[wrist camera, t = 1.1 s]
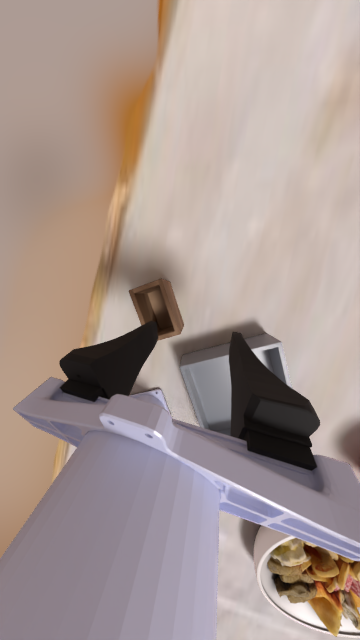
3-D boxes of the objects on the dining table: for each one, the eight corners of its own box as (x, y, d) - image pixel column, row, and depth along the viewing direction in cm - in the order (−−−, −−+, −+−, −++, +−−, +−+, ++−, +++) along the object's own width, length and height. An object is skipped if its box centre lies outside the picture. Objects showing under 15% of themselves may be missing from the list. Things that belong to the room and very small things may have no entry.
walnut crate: (159, 332, 27) (148, 343, 21) (144, 291, 26) (128, 290, 20) (184, 324, 26) (180, 334, 20) (170, 282, 25) (161, 278, 19)
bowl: (240, 568, 36) (251, 643, 28) (258, 478, 30) (279, 540, 23) (374, 602, 33) (429, 697, 25) (423, 508, 27) (513, 594, 19)
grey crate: (208, 430, 29) (210, 454, 25) (182, 354, 27) (179, 366, 22) (287, 418, 27) (304, 442, 22) (266, 333, 24) (281, 341, 20)
